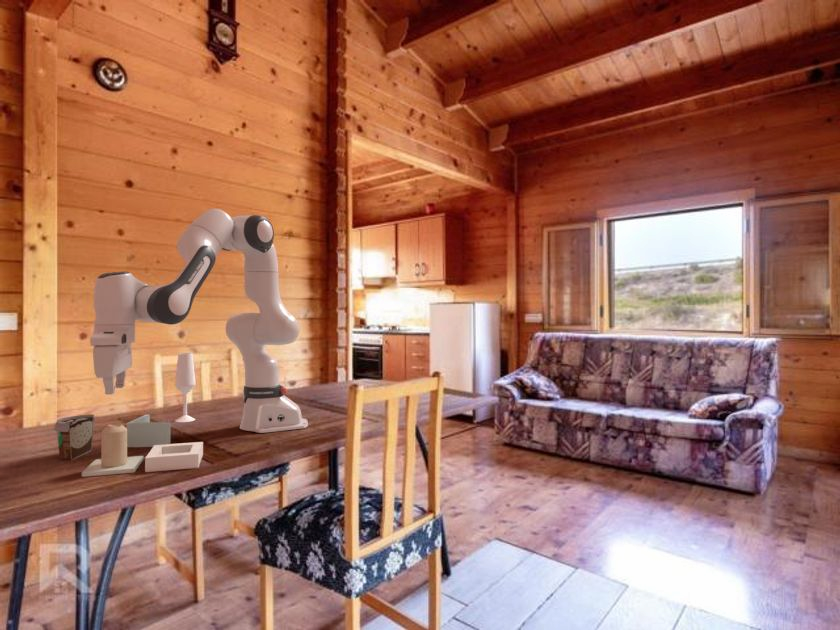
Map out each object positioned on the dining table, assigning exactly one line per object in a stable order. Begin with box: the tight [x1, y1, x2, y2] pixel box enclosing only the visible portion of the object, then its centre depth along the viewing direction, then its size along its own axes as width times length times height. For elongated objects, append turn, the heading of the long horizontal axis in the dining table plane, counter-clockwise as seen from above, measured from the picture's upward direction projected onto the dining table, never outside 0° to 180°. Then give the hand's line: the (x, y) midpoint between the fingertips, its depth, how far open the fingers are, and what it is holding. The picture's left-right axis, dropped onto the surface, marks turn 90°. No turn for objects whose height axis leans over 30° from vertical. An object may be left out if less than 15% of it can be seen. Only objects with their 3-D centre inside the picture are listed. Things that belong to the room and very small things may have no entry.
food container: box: [53, 414, 96, 462], centre depth 134 cm, size 12×6×10 cm, turn 5°
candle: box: [100, 423, 128, 467], centre depth 124 cm, size 6×6×10 cm
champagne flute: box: [174, 352, 197, 423], centre depth 178 cm, size 7×7×24 cm
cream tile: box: [81, 455, 144, 478], centre depth 125 cm, size 11×11×1 cm
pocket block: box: [144, 441, 204, 473], centre depth 129 cm, size 12×12×4 cm
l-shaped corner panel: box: [125, 413, 172, 448], centre depth 149 cm, size 12×12×8 cm
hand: (115, 390), depth 125 cm, fingers open, 8 cm apart
